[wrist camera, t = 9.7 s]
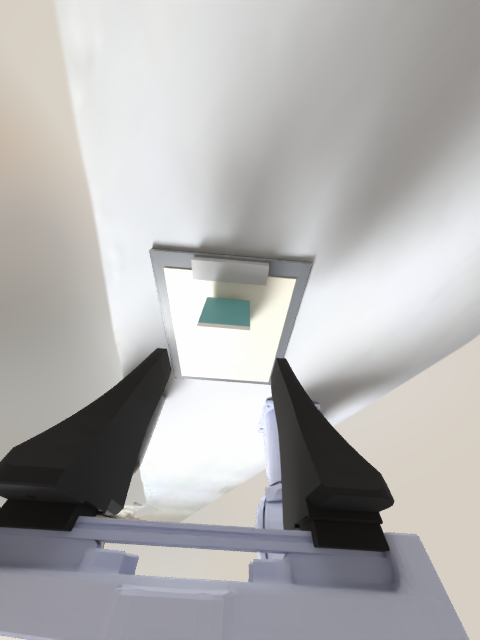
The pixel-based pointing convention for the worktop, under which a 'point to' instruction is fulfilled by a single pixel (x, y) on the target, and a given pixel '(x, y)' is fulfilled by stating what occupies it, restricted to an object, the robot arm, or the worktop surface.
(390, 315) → the worktop surface
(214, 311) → the teal-topped white block
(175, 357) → the clipboard
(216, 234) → the worktop surface
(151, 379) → the robot arm
